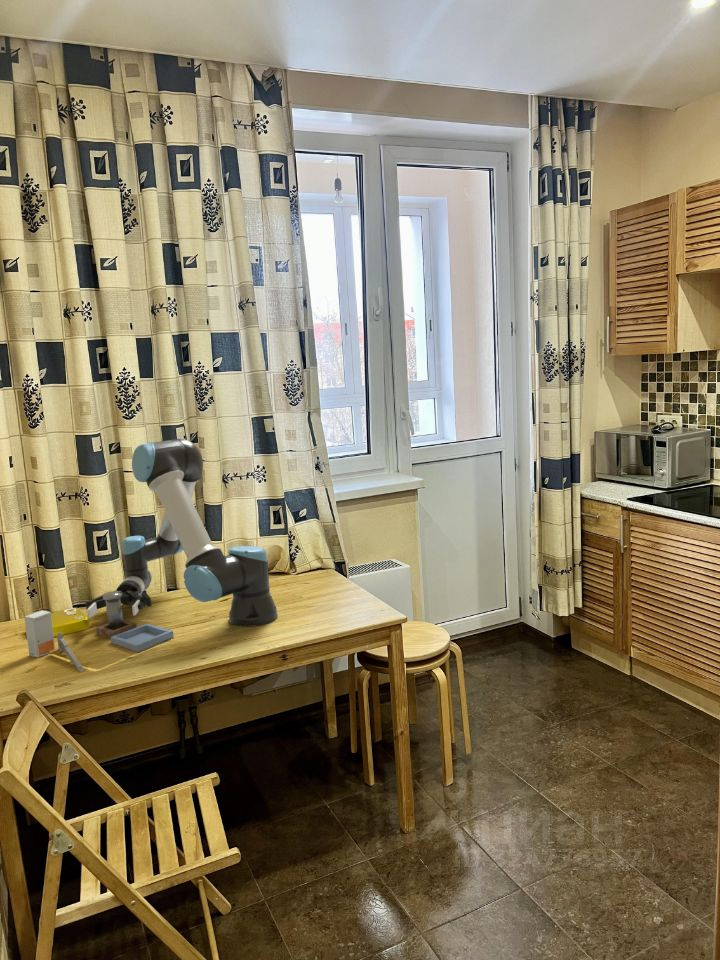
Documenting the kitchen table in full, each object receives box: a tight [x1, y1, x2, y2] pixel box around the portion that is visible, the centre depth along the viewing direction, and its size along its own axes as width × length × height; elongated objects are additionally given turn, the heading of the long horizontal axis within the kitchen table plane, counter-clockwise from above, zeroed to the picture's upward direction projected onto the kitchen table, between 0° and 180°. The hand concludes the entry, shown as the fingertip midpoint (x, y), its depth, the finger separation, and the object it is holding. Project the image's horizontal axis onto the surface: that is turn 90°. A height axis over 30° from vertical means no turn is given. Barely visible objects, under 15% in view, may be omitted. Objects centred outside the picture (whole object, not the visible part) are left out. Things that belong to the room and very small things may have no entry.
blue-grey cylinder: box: [102, 590, 124, 630], centre depth 228 cm, size 6×6×12 cm
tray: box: [110, 623, 175, 654], centre depth 221 cm, size 13×13×2 cm
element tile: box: [51, 607, 91, 638], centre depth 235 cm, size 15×15×5 cm
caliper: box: [56, 632, 84, 673], centre depth 209 cm, size 20×1×6 cm, turn 37°
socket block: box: [96, 619, 137, 639], centre depth 229 cm, size 8×8×3 cm
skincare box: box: [24, 610, 56, 659], centre depth 215 cm, size 6×4×12 cm
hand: (111, 612), depth 224 cm, fingers open, 13 cm apart
